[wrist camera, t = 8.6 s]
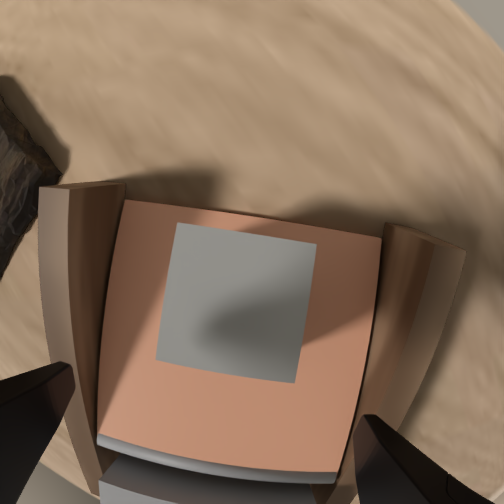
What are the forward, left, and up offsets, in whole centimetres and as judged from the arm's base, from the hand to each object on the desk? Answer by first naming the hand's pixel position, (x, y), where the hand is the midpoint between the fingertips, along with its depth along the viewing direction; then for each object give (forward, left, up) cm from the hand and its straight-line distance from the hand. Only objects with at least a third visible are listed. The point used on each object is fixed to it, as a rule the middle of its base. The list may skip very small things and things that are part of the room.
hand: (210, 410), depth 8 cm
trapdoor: (0, +7, -10) cm, 13 cm away
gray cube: (0, 0, -10) cm, 10 cm away
